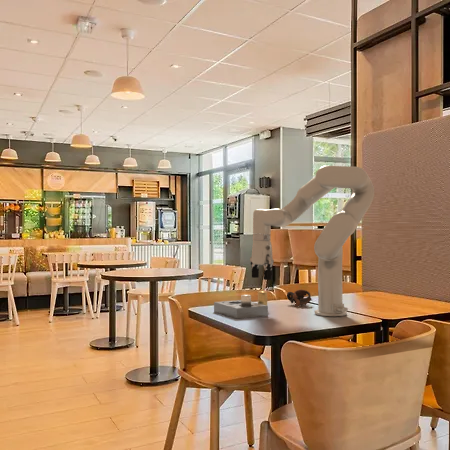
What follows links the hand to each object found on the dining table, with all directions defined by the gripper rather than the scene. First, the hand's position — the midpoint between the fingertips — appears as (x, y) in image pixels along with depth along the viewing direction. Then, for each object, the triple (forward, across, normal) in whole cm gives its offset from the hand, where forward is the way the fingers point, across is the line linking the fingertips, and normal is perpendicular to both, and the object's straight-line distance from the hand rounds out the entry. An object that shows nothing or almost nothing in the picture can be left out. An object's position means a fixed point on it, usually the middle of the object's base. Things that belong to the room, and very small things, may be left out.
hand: (261, 278), depth 200 cm
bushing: (+14, -1, -1) cm, 14 cm away
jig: (+14, -3, +11) cm, 18 cm away
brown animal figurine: (+14, +4, -23) cm, 27 cm away
